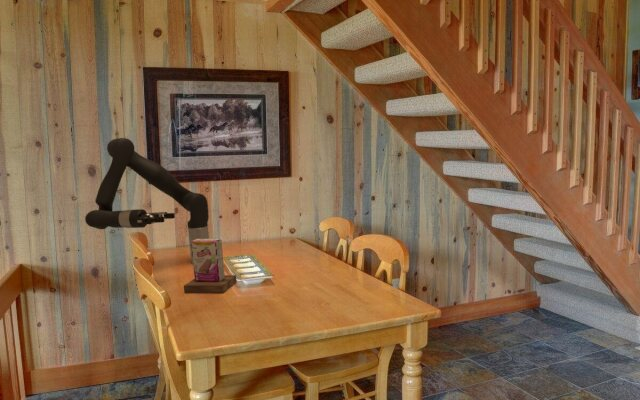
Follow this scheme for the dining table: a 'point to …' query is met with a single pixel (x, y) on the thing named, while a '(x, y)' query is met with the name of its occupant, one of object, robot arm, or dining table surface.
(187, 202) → the robot arm
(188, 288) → the walnut base
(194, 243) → the candy bar box
